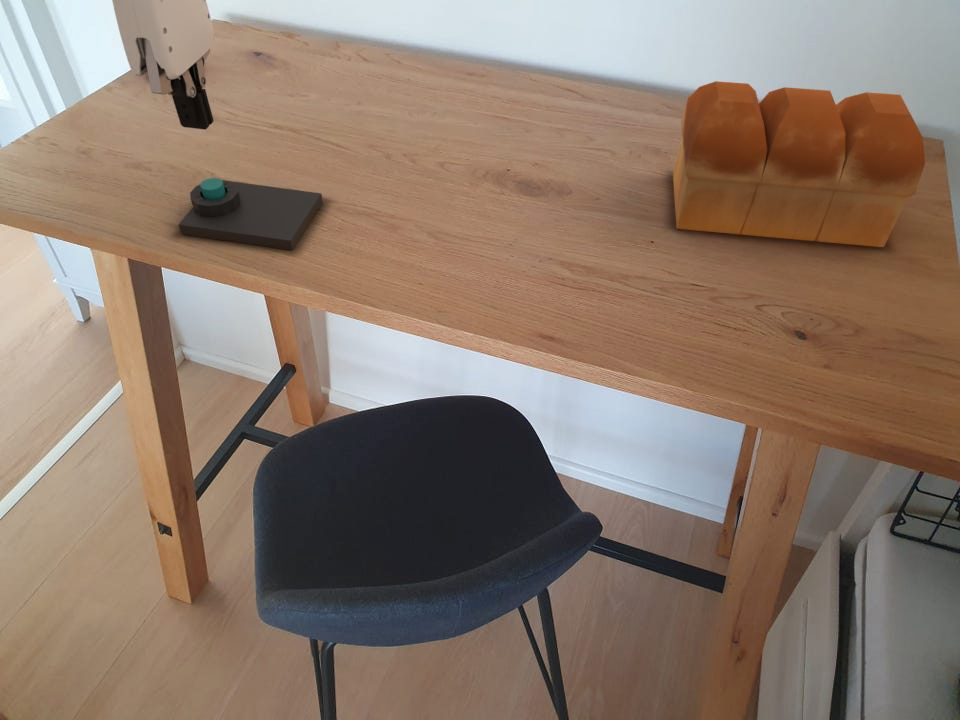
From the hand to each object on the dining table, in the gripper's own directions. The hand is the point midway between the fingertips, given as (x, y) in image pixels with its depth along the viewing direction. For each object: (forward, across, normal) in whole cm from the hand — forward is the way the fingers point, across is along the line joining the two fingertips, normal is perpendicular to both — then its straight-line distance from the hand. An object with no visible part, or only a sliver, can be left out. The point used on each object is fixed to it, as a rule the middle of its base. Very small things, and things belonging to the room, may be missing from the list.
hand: (197, 124), depth 85 cm
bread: (+13, -16, +66) cm, 69 cm away
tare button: (+9, 0, 0) cm, 9 cm away
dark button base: (+12, 0, +4) cm, 12 cm away
